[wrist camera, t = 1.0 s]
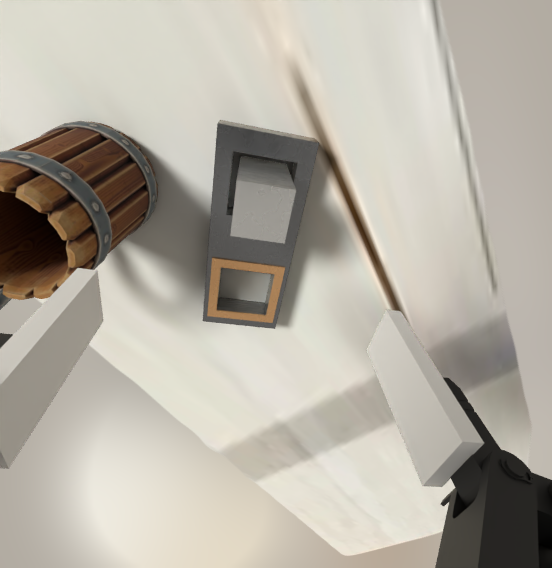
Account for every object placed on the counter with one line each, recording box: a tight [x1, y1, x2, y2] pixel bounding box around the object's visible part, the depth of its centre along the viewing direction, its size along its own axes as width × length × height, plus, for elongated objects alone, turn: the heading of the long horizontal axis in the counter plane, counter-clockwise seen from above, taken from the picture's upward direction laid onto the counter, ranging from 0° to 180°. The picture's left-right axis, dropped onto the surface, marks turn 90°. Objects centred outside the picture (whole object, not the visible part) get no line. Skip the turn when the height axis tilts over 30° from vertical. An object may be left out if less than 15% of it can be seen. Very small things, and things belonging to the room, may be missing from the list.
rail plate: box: [203, 120, 319, 329], centre depth 34 cm, size 22×9×3 cm, turn 170°
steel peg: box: [230, 156, 296, 244], centre depth 28 cm, size 4×4×9 cm
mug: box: [0, 121, 158, 309], centre depth 26 cm, size 16×11×15 cm
